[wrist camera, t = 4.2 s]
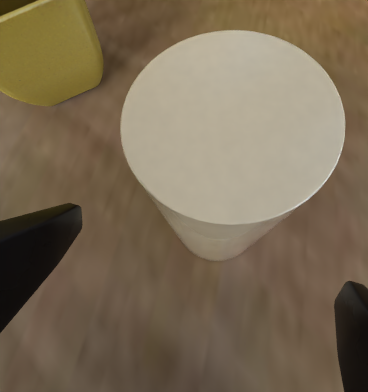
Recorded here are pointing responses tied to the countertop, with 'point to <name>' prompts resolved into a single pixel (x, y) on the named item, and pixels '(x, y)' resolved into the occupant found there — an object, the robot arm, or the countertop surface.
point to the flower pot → (48, 50)
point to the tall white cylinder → (231, 136)
